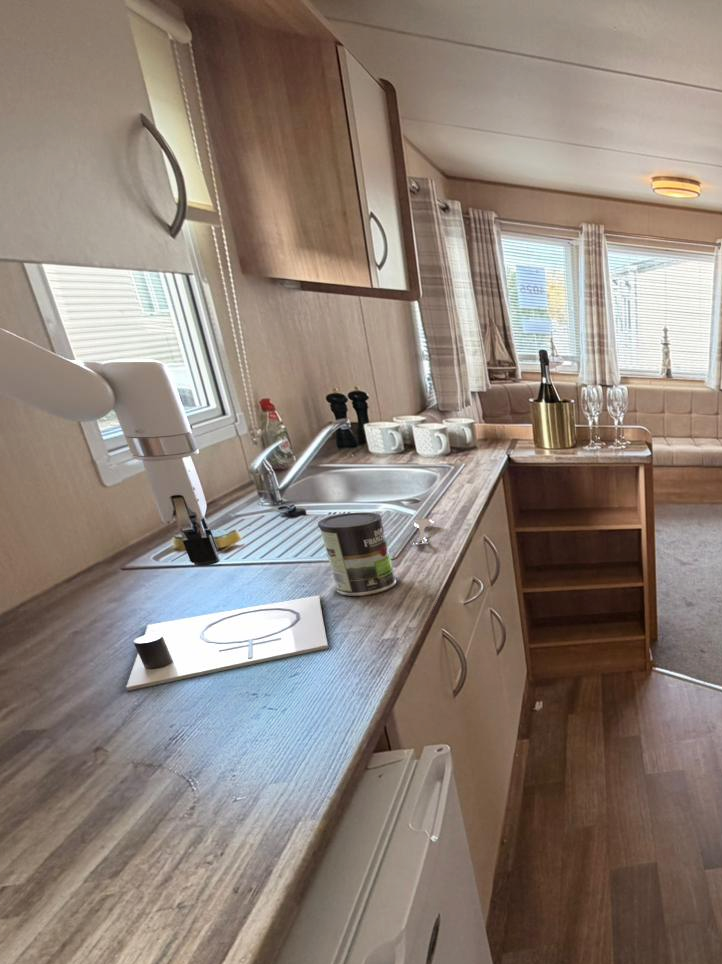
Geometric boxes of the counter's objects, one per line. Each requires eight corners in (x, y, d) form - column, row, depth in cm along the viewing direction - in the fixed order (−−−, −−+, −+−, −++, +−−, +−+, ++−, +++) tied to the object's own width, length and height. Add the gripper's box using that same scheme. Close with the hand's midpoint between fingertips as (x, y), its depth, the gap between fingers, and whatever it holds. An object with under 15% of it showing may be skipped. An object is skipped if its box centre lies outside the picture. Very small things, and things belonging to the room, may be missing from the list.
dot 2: (193, 567, 103) (183, 541, 102) (195, 561, 106) (185, 535, 104) (219, 563, 105) (210, 538, 103) (220, 557, 108) (211, 532, 106)
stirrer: (428, 534, 147) (405, 536, 145) (431, 548, 148) (408, 551, 146) (433, 515, 164) (411, 516, 162) (435, 528, 165) (414, 530, 163)
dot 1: (143, 671, 96) (131, 645, 94) (146, 662, 98) (134, 636, 96) (172, 665, 98) (161, 639, 96) (174, 657, 100) (163, 631, 98)
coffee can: (407, 577, 134) (392, 512, 128) (377, 597, 124) (360, 528, 118) (357, 575, 133) (340, 510, 128) (324, 595, 124) (304, 526, 118)
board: (127, 691, 92) (125, 686, 92) (149, 627, 109) (147, 624, 109) (328, 648, 106) (327, 644, 105) (319, 598, 123) (318, 594, 123)
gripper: (137, 438, 101) (179, 546, 109) (120, 458, 90) (169, 578, 97) (199, 434, 105) (236, 539, 113) (191, 453, 94) (232, 568, 101)
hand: (204, 556), depth 105 cm, fingers closed on dot 2, 3 cm apart
